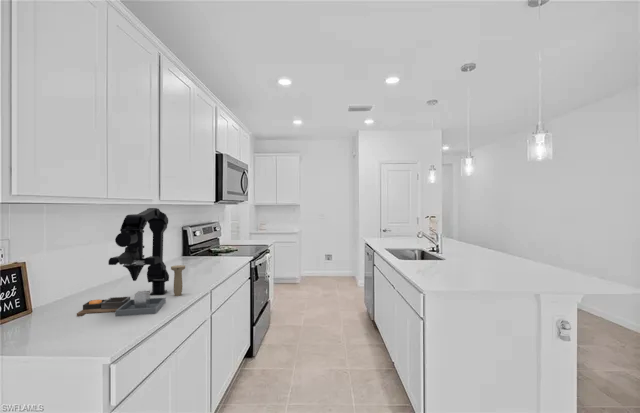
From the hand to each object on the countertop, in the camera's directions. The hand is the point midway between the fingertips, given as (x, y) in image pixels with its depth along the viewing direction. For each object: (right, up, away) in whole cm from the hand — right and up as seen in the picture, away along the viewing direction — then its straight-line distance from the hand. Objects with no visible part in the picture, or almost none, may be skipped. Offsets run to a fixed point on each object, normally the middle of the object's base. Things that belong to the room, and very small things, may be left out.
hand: (134, 280), depth 129 cm
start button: (-18, -11, +1) cm, 21 cm away
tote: (+3, -13, 0) cm, 13 cm away
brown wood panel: (-13, -13, +2) cm, 18 cm away
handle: (+9, -13, +20) cm, 26 cm away
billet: (+3, -12, 0) cm, 12 cm away
